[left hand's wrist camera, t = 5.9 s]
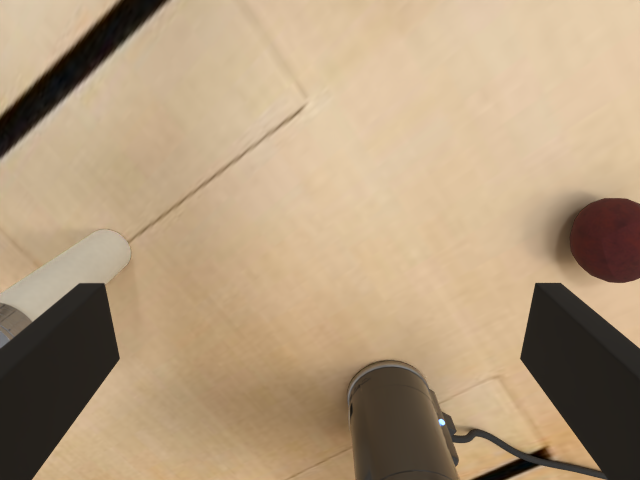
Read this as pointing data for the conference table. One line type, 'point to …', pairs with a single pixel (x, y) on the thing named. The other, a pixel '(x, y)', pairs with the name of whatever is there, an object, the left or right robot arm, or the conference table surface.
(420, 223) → the conference table surface
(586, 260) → the dark red ball
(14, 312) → the lid
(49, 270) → the white cylindrical bottle
